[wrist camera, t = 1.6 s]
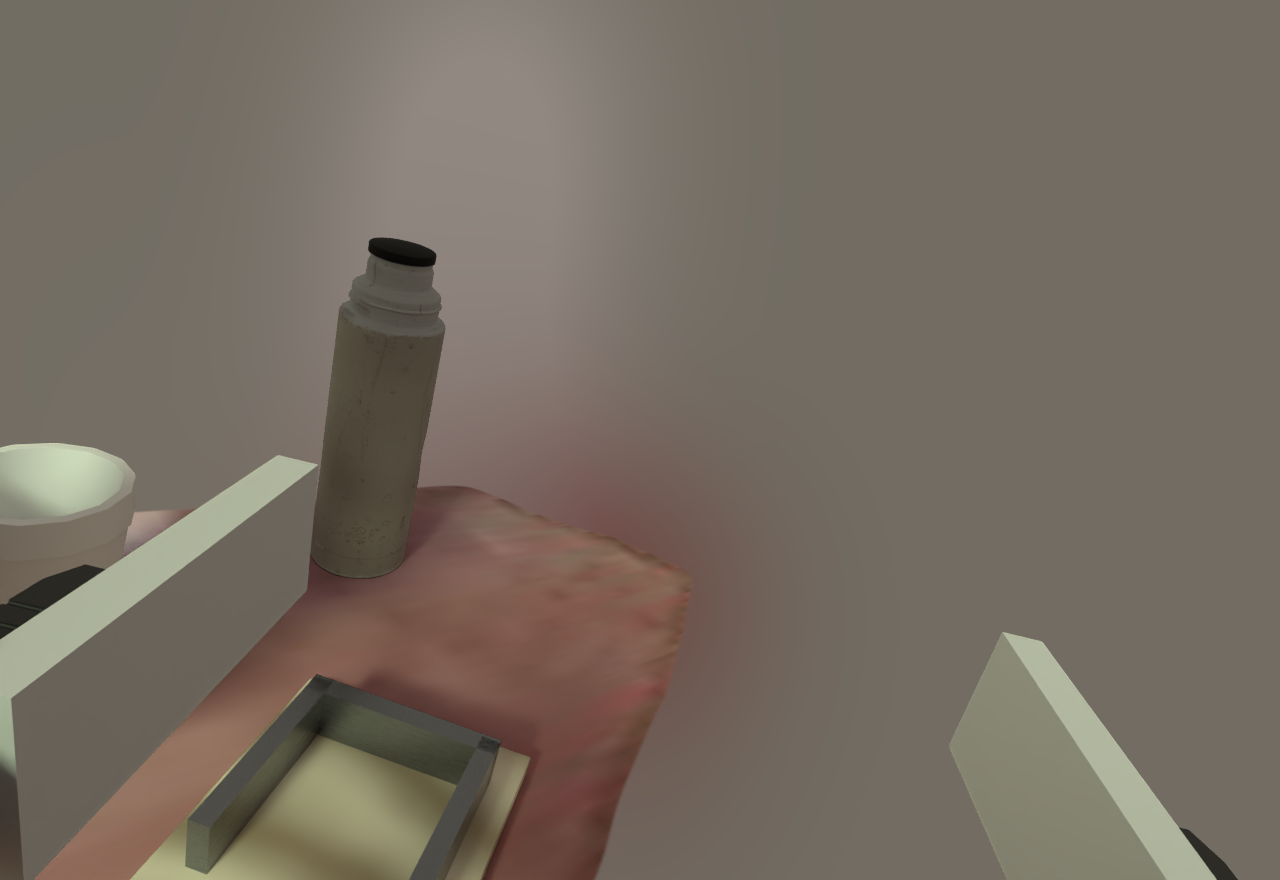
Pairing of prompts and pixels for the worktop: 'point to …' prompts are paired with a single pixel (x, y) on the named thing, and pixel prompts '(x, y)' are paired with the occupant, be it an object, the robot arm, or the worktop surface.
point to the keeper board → (349, 821)
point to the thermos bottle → (378, 411)
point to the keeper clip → (366, 729)
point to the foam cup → (60, 511)
